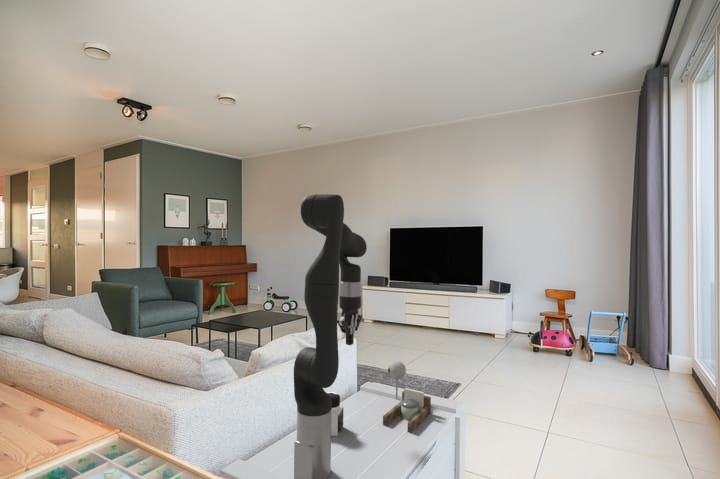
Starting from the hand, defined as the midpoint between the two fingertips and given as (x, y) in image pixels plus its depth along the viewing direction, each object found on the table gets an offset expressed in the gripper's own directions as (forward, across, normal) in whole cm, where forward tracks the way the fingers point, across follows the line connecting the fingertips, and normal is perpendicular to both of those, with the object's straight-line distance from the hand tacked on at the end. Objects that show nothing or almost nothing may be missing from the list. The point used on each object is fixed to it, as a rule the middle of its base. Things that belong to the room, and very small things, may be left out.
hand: (349, 344), depth 135 cm
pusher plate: (+27, +22, -16) cm, 38 cm away
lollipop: (+27, +28, -5) cm, 39 cm away
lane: (+27, +13, -16) cm, 34 cm away
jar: (+27, +16, -16) cm, 35 cm away
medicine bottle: (+27, -8, +2) cm, 28 cm away
